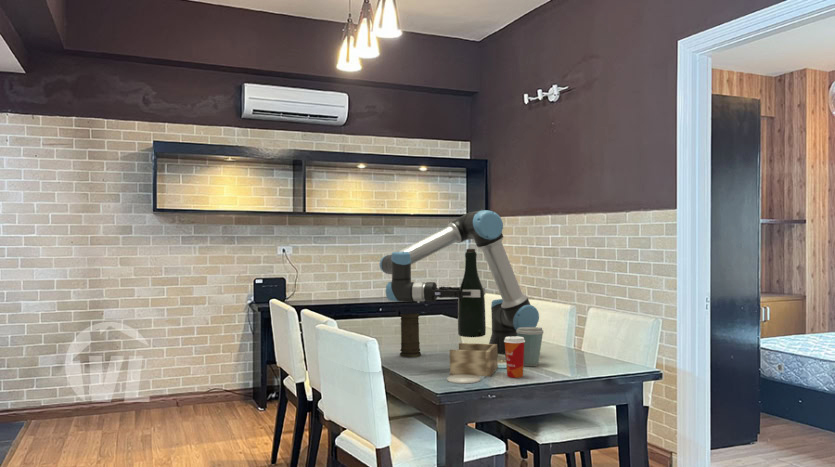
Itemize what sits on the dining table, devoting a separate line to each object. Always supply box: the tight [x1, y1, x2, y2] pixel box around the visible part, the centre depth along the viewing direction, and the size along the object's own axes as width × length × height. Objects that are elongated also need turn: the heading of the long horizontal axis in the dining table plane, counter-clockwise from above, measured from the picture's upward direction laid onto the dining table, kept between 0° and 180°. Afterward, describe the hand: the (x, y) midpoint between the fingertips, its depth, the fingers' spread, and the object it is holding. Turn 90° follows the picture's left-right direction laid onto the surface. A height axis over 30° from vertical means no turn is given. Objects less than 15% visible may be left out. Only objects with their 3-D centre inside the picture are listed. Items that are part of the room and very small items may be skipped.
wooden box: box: [449, 342, 499, 377], centre depth 242 cm, size 15×16×9 cm
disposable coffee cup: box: [516, 326, 544, 367], centre depth 252 cm, size 11×11×15 cm
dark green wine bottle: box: [457, 248, 487, 338], centre depth 243 cm, size 10×10×33 cm
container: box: [399, 312, 422, 358], centre depth 275 cm, size 9×9×18 cm
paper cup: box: [504, 336, 525, 379], centre depth 232 cm, size 8×8×14 cm
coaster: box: [446, 374, 482, 385], centre depth 228 cm, size 12×12×1 cm
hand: (482, 292), depth 241 cm, fingers closed on dark green wine bottle, 9 cm apart
